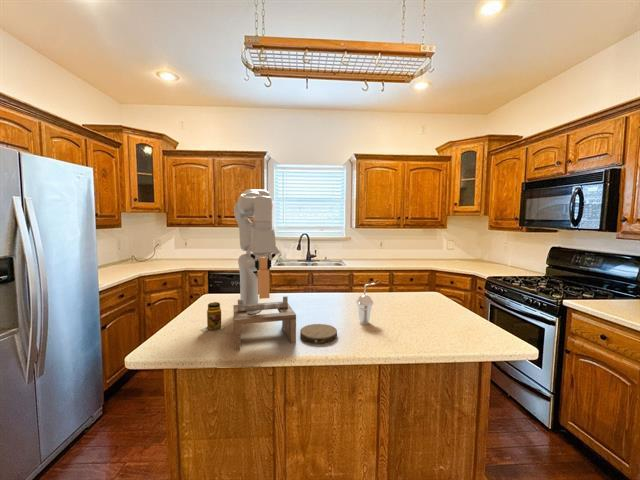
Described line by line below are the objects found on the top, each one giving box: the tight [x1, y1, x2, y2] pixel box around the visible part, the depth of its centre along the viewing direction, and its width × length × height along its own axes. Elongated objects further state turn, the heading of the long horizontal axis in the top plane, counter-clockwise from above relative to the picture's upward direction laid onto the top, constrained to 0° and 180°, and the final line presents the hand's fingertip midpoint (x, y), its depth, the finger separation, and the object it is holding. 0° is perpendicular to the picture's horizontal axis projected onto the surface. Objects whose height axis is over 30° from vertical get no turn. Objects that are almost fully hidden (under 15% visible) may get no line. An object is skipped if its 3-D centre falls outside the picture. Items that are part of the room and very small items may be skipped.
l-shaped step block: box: [256, 257, 270, 299], centre depth 125 cm, size 8×4×16 cm, turn 18°
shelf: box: [232, 295, 297, 351], centre depth 127 cm, size 20×24×17 cm
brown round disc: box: [299, 323, 338, 345], centre depth 129 cm, size 16×16×3 cm
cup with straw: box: [355, 282, 377, 325], centre depth 146 cm, size 8×9×20 cm
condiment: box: [200, 301, 225, 334], centre depth 136 cm, size 7×8×12 cm
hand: (263, 269), depth 125 cm, fingers closed on l-shaped step block, 4 cm apart
